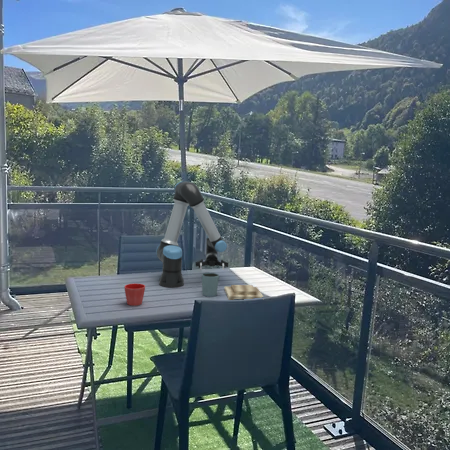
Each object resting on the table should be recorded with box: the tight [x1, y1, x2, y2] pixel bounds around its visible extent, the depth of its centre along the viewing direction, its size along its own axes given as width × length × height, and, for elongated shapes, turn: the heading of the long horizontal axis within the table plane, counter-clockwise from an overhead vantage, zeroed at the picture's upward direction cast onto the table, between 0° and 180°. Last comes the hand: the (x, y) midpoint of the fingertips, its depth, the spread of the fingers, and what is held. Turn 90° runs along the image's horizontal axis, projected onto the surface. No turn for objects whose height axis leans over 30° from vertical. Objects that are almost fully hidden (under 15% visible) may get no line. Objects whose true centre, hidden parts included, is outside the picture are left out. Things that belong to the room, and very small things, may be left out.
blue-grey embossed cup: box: [201, 272, 220, 298], centre depth 262 cm, size 10×10×12 cm
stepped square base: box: [223, 284, 264, 301], centre depth 265 cm, size 20×20×4 cm
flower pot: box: [124, 283, 146, 307], centre depth 239 cm, size 11×11×10 cm
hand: (212, 267), depth 271 cm, fingers open, 13 cm apart
